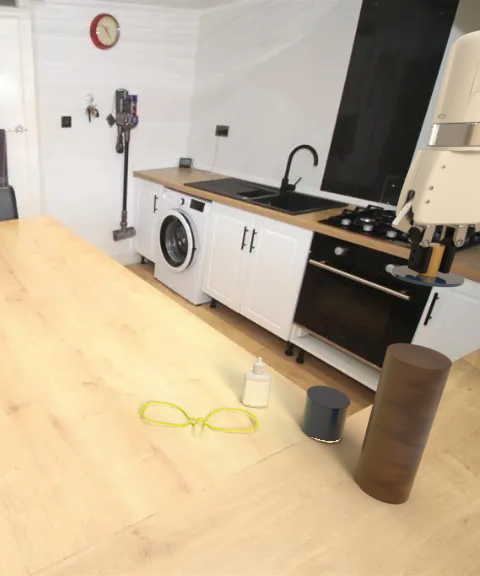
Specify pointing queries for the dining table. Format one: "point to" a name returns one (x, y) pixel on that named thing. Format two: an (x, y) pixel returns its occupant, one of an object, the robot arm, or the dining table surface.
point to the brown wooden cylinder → (401, 420)
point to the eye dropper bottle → (256, 386)
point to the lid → (430, 272)
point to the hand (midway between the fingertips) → (427, 269)
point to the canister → (325, 413)
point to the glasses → (200, 417)
